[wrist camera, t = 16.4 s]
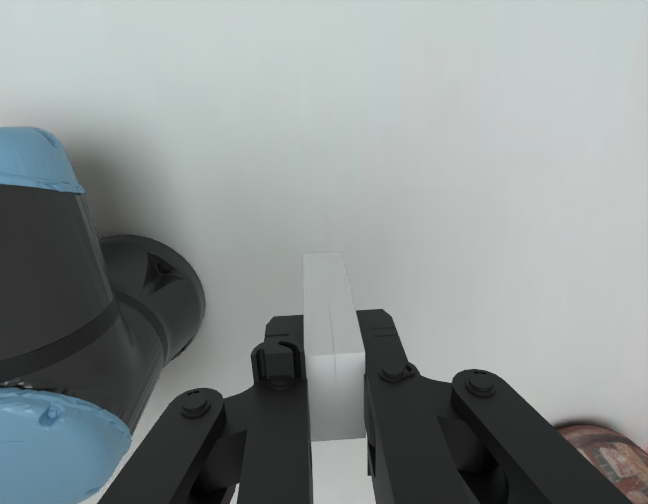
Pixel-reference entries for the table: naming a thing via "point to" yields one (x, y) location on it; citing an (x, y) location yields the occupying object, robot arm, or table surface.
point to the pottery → (612, 458)
